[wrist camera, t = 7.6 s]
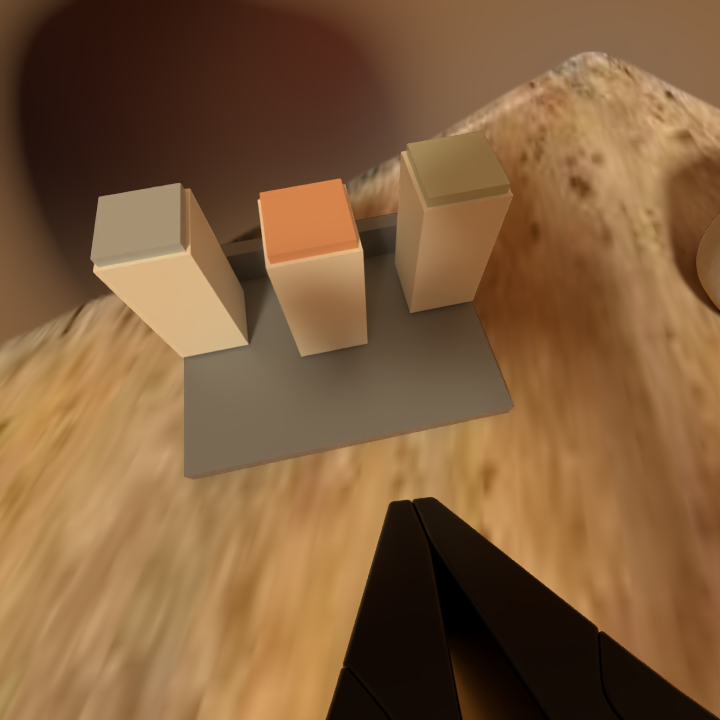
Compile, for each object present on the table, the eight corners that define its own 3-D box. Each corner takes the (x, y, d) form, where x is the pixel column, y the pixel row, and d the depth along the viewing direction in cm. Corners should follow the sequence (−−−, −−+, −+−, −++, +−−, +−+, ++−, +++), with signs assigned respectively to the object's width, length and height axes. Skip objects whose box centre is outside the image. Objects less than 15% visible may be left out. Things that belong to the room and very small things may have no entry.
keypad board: (508, 412, 22) (530, 390, 19) (192, 479, 21) (160, 467, 18) (442, 242, 28) (450, 203, 24) (190, 289, 27) (165, 255, 24)
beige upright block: (472, 300, 24) (517, 185, 16) (410, 313, 24) (425, 202, 16) (453, 252, 26) (485, 127, 18) (394, 263, 25) (401, 141, 18)
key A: (248, 344, 23) (185, 245, 16) (182, 357, 23) (85, 263, 15) (243, 291, 25) (184, 178, 17) (182, 303, 25) (94, 194, 17)
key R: (367, 343, 23) (362, 242, 15) (301, 356, 23) (262, 260, 15) (354, 289, 25) (344, 174, 17) (293, 301, 24) (254, 190, 17)
